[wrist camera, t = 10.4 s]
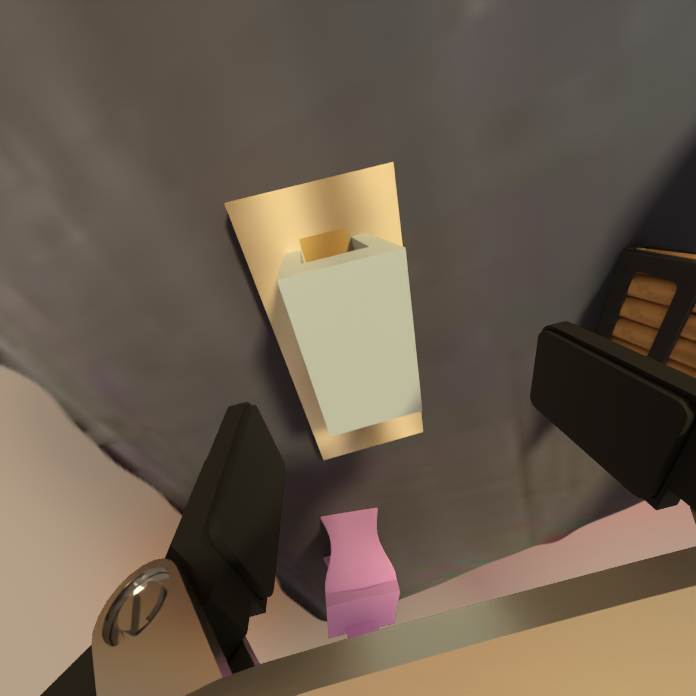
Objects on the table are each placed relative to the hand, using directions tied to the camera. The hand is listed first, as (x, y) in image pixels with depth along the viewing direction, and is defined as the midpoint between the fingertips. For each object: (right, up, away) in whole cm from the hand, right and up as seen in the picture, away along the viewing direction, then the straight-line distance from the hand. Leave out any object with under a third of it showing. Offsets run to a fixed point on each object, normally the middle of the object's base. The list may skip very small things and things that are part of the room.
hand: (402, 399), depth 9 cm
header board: (-2, +2, +11) cm, 11 cm away
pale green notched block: (-2, +4, +8) cm, 10 cm away
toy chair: (-2, -19, +22) cm, 30 cm away
